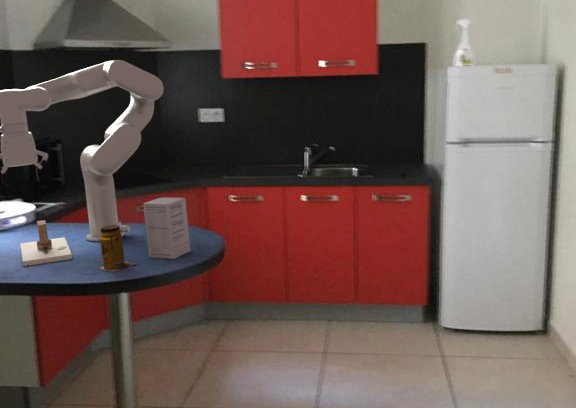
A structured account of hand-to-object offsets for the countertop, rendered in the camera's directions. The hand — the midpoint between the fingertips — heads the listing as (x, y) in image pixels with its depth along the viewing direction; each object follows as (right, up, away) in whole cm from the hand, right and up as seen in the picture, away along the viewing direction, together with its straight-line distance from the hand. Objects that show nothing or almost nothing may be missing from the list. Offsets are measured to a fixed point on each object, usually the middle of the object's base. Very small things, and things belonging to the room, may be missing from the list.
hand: (23, 183), depth 211 cm
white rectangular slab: (+7, -22, 0) cm, 23 cm away
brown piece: (+8, -21, -2) cm, 22 cm away
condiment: (+35, -25, -19) cm, 47 cm away
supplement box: (+48, -22, -9) cm, 54 cm away
